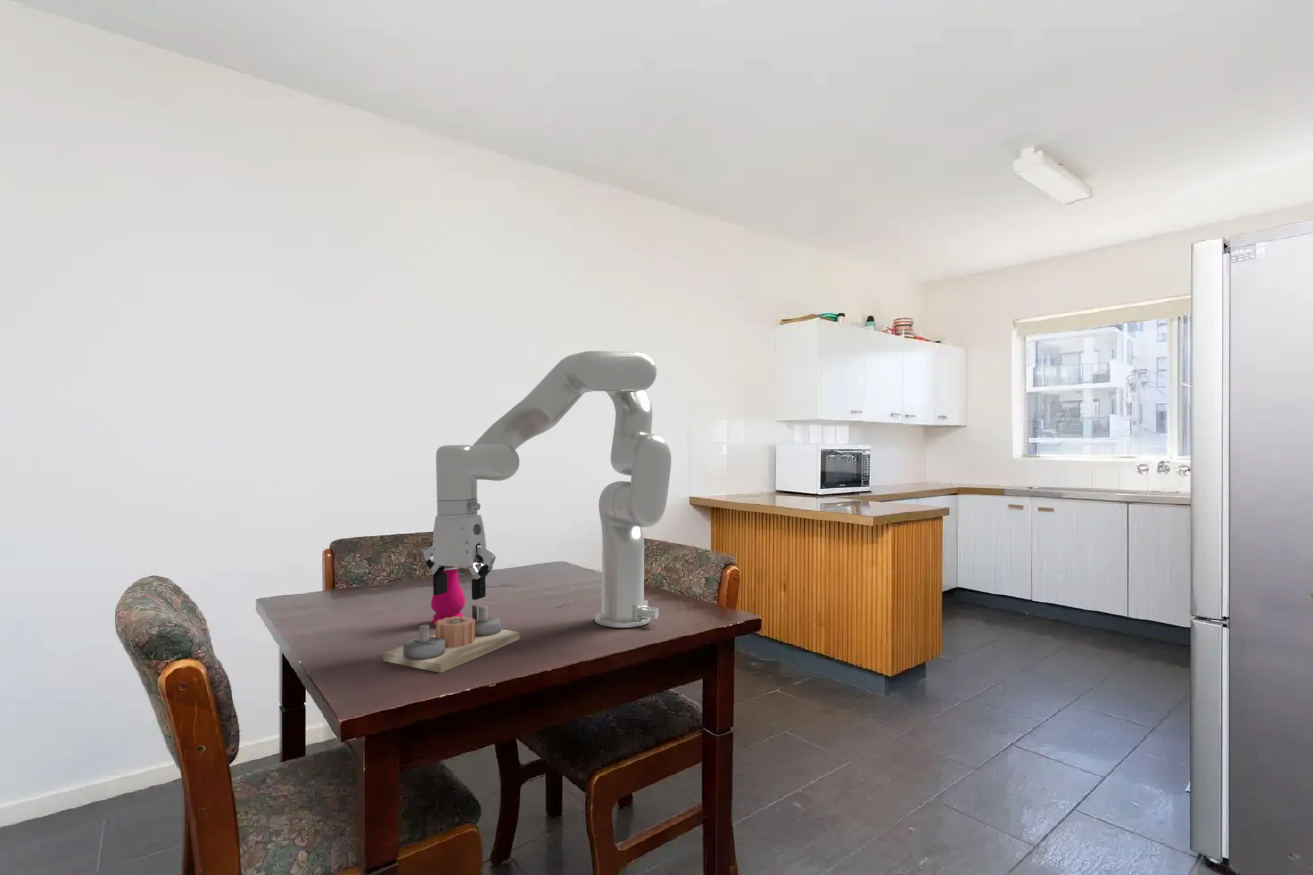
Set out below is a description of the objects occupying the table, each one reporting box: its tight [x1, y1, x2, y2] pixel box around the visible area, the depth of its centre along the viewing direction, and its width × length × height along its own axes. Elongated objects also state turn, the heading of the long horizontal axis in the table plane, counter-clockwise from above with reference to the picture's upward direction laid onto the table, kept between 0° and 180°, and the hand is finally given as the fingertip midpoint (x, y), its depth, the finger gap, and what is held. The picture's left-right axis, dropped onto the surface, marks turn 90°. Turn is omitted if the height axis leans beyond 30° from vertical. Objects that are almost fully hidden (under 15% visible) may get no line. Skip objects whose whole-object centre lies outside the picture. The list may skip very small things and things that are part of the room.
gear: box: [435, 615, 475, 648], centre depth 127 cm, size 7×7×4 cm
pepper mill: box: [430, 567, 466, 626], centre depth 146 cm, size 7×7×20 cm
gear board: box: [382, 604, 521, 674], centre depth 127 cm, size 14×23×6 cm, turn 154°
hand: (459, 596), depth 128 cm, fingers open, 9 cm apart
